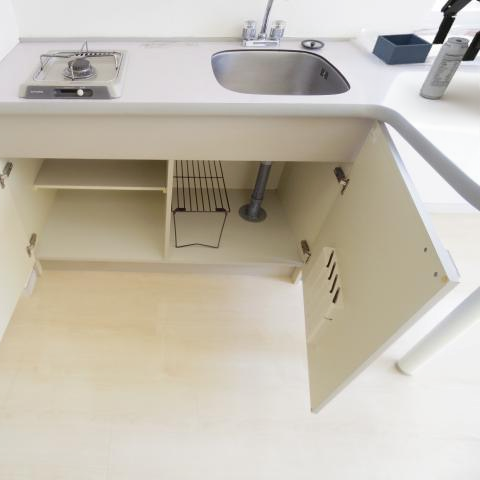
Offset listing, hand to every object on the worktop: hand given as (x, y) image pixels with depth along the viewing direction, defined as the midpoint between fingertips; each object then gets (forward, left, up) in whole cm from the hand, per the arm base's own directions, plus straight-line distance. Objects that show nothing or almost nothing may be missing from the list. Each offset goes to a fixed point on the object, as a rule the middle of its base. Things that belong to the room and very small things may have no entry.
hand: (451, 51), depth 95 cm
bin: (+32, -6, -12) cm, 35 cm away
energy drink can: (0, 0, -12) cm, 12 cm away
